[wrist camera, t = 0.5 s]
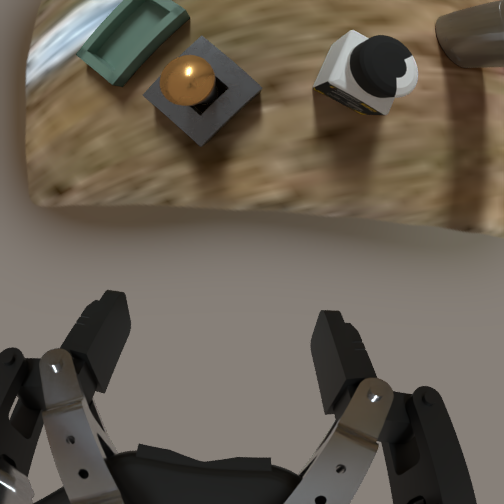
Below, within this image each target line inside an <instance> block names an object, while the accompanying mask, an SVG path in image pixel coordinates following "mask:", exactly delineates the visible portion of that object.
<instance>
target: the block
mask: <svg viewBox="0 0 504 504" xmlns="http://www.w3.org/2000/svg"><path fill="white" fill-rule="evenodd" d="M184 55H195V56H199V57H201V58H203V59H205V60H206V61H207V62H208V63H209V64H210V65H211V67H212V69H213V70H214V73H215V78H216V79H217V80H218V81H219V82H221V83H222V84H223V85H224V86H225V87H226V88H227V90H226V91H225V92H224V93H223V94H222V95H221V96H220V97H219V98H218V99H217V100H216V101H215V102H214V103H213V104H212V105H211V106H210V107H209V108H208V109H207V110H206V111H205V112H204V113H203V114H202V113H201V112H200V111H199V110H198V109H197V108H196V107H195V106H182V105H177V104H174V103H172V102H170V101H169V100H167V99H166V98H165V97H164V95H163V94H162V92H161V89H160V77H161V75H160V76H159V78H158V79H157V80H156V81H155V82H154V83H153V84H152V85H151V86H150V87H149V89H148V90H147V91H146V92H145V93H144V94H143V96H144V97H145V98H146V99H147V100H149V101H150V102H151V103H152V104H153V105H154V106H156V107H157V108H158V109H159V110H160V111H161V112H162V113H164V114H165V115H166V116H167V117H168V118H169V119H170V120H171V121H173V122H174V123H175V124H176V125H177V126H178V127H179V128H180V129H182V130H183V131H184V132H185V133H186V134H187V135H188V136H189V137H190V138H192V139H193V140H194V141H195V142H196V143H197V144H198V145H199V146H200V147H201V146H203V145H205V144H206V143H207V142H208V141H209V140H210V139H211V138H212V137H213V136H214V135H215V134H216V133H217V132H218V131H219V130H220V129H221V128H222V127H223V126H224V125H225V124H226V123H227V122H228V121H229V120H230V119H231V118H233V117H234V116H235V115H236V114H237V113H238V112H239V111H240V110H241V109H242V108H243V107H244V106H245V105H246V104H248V103H249V102H250V101H251V100H252V99H253V98H254V97H255V96H256V95H258V94H259V93H260V92H261V90H262V87H261V86H260V85H259V84H258V83H257V82H256V81H254V80H253V79H252V78H251V77H250V76H249V75H248V74H247V73H246V72H245V71H243V70H242V69H241V68H240V67H239V66H238V65H237V64H235V63H234V62H233V61H232V60H231V59H230V58H228V57H227V56H226V55H225V54H224V53H222V52H221V51H220V50H219V49H218V48H216V47H215V46H214V45H213V44H211V43H210V42H209V41H208V40H206V39H205V38H204V37H202V36H201V37H200V38H198V39H197V40H196V41H195V42H194V43H193V44H192V45H191V46H190V47H189V48H187V49H186V50H185V51H184V52H183V53H182V54H181V55H180V56H184ZM180 56H179V57H180Z"/></svg>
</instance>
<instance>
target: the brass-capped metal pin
mask: <svg viewBox="0 0 504 504" xmlns="http://www.w3.org/2000/svg"><path fill="white" fill-rule="evenodd" d="M215 81H216V78H215V73H214V70H213V69H212V67H211V65H210V64H209V63H208V62H207V61H206V60H205V59H203V58H201V57H199V56H195V55H184V56H180V57H178V58H176V59H174V60H172V61H171V62H170V63H169V64H167V66H166V67H165V68H164V70H163V71H162V74H161V77H160V89H161V92H162V94H163V95H164V97H165V98H166V99H167V100H169V101H170V102H172V103H174V104H177V105H182V106H193V105H196V104H203V105H207V104H210V103H212V102H214V101H215V100H216V98H217V97H218V88H217V86H216V85H215Z"/></svg>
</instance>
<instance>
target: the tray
mask: <svg viewBox="0 0 504 504" xmlns="http://www.w3.org/2000/svg"><path fill="white" fill-rule="evenodd" d="M188 19H190V17H189V15H188V13H187V12H186V10H185V9H184V8H182V7H181V6H179V5H178V4H176V3H175V2H173V1H171V0H124V1H122V2H121V3H120V4H119V5H118V6H117V7H116V8H115V9H114V10H113V12H112V13H111V14H110V15H109V16H108V17H107V18H106V19H105V20H104V21H103V22H102V23H101V24H100V26H99V27H98V28H97V29H96V30H95V31H94V33H93V34H92V35H91V36H90V37H89V38H88V40H87V41H86V42H85V43H84V45H83V46H82V47H81V49H80V50H79V51H78V52H77V54H76V55H77V56H78V57H80V58H81V59H82V60H83V61H84V62H86V63H87V64H88V65H89V66H90V67H92V68H93V69H94V70H95V71H97V72H98V73H99V74H100V75H101V76H102V77H104V78H105V79H106V80H107V81H108V82H110V83H111V84H112V85H116V86H121V87H123V86H124V85H125V84H126V82H127V81H128V80H129V79H130V78H131V76H132V75H133V74H134V73H135V72H136V71H137V70H138V68H139V67H140V66H141V65H142V64H143V63H144V62H145V61H146V60H147V59H148V58H149V57H150V55H151V54H152V53H153V52H154V51H155V50H156V49H157V48H158V47H159V46H160V45H161V44H162V43H163V42H164V41H165V40H166V39H167V38H168V37H170V36H171V35H172V34H173V33H174V32H175V31H176V30H177V29H178V28H179V27H180V26H181V25H183V24H184V23H185V22H186V21H187V20H188Z"/></svg>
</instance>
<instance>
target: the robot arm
mask: <svg viewBox="0 0 504 504" xmlns="http://www.w3.org/2000/svg"><path fill="white" fill-rule="evenodd" d="M436 34H437V38H438V41H439V43H440V45H441V47H442V49H443V50H444V52H445V53H446V55H447V56H448V57H449V58H450V59H451V60H452V61H453V62H454V63H455V64H457V65H458V66H460V67H463V68H479V67H504V0H500V1H495V2H490V3H486V4H482V5H478V6H474V7H470V8H466V9H463V10H459V11H456V12H452V13H449V14H446V15H443V16H441V17H439V18H438V20H437V22H436ZM130 329H131V320H130V315H129V310H128V305H127V300H126V295H125V293H124V292H119V291H112V290H107V291H106V292H105V293H104V295H103V296H102V298H101V299H100V300H99V301H98V300H95V301H93V302H92V303H91V304H89V305H88V306H87V307H86V308H85V310H84V311H83V313H82V314H81V317H79V319H78V320H77V323H76V324H75V325H74V326H73V328H72V329H71V331H70V333H69V334H68V336H67V337H66V339H65V341H64V342H63V344H62V345H61V347H60V348H56V349H52V350H49V351H47V352H46V353H45V354H44V355H43V356H42V357H41V358H40V359H38V358H24V356H23V354H22V352H21V351H20V350H19V349H17V348H7V349H5V350H4V351H2V352H1V353H0V504H350V502H351V500H352V499H353V497H354V495H355V493H356V492H357V490H358V488H359V486H360V484H361V483H362V481H363V479H364V477H365V475H366V473H367V471H368V469H369V467H370V465H371V463H372V461H373V459H374V457H375V455H376V452H377V450H378V446H379V445H378V444H377V443H376V441H380V442H381V443H382V447H383V452H384V456H385V461H386V466H387V471H388V476H389V481H390V487H391V493H392V499H393V504H477V503H476V498H475V494H474V490H473V486H472V482H471V479H470V475H469V472H468V468H467V465H466V462H465V459H464V456H463V453H462V450H461V447H460V444H459V441H458V438H457V435H456V432H455V430H454V427H453V424H452V422H451V419H450V417H449V414H448V412H447V409H446V407H445V404H444V402H443V400H442V397H441V396H440V394H439V393H438V392H437V391H436V390H435V389H433V388H431V387H428V386H422V387H419V388H417V389H416V390H415V391H414V393H413V394H406V393H400V392H395V391H393V390H392V388H391V387H390V386H389V384H388V383H386V382H385V381H383V380H381V379H379V378H377V376H376V373H375V371H374V368H373V366H372V363H371V361H370V358H369V356H368V354H367V351H366V350H365V346H364V344H363V343H362V339H361V337H360V335H359V333H358V331H357V330H356V329H355V328H354V327H353V326H352V325H351V323H345V322H344V320H343V318H342V315H341V313H340V311H330V310H321V312H320V314H319V316H318V319H317V322H316V326H315V329H314V332H313V335H312V339H311V353H312V357H313V362H314V366H315V371H316V375H317V380H318V384H319V389H320V393H321V398H322V403H323V407H324V412H325V415H327V414H335V418H336V420H335V422H334V423H333V425H332V426H331V428H330V430H329V431H328V433H327V434H326V436H325V438H324V439H323V441H322V442H321V444H320V445H319V447H318V448H317V450H316V451H315V453H314V454H313V455H312V457H311V458H310V459H309V461H308V462H307V463H306V465H305V466H304V467H303V469H302V470H301V471H300V472H299V474H298V475H297V474H295V473H293V472H292V471H290V470H287V469H285V468H282V467H279V466H276V465H271V458H250V457H249V458H248V457H236V458H229V459H223V460H215V461H209V462H208V461H207V462H202V461H198V460H195V459H192V458H190V457H187V456H184V455H181V454H179V453H176V452H174V451H171V450H168V449H162V448H157V447H152V446H147V445H143V444H139V445H138V449H137V451H127V452H123V453H118V452H117V450H116V448H115V446H114V445H113V443H112V441H111V440H110V438H109V436H108V433H107V431H106V429H105V427H104V424H103V422H102V419H101V417H100V414H99V412H98V409H97V406H96V404H95V401H94V399H93V395H94V393H95V391H97V392H101V393H105V392H106V389H107V386H108V384H109V381H110V379H111V376H112V374H113V371H114V369H115V366H116V364H117V362H118V359H119V357H120V354H121V352H122V350H123V347H124V345H125V343H126V340H127V338H128V336H129V333H130ZM16 396H17V397H18V398H19V399H18V401H17V404H16V406H15V408H14V410H13V413H12V415H11V418H10V420H9V417H8V416H9V411H10V409H11V407H12V405H13V402H14V400H15V398H16ZM43 424H44V426H45V430H46V434H47V438H48V441H49V445H50V448H51V452H52V455H53V458H54V461H55V464H56V467H57V470H58V473H59V475H60V478H61V481H62V483H63V487H62V488H60V489H58V490H57V491H55V492H53V493H51V494H50V495H48V496H46V497H45V498H43V499H41V500H39V501H37V502H35V503H33V502H32V498H33V497H34V491H33V489H32V488H31V484H30V482H29V480H28V478H27V477H28V474H29V470H30V466H31V462H32V458H33V455H34V452H35V449H36V445H37V442H38V439H39V436H40V433H41V430H42V427H43Z"/></svg>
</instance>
